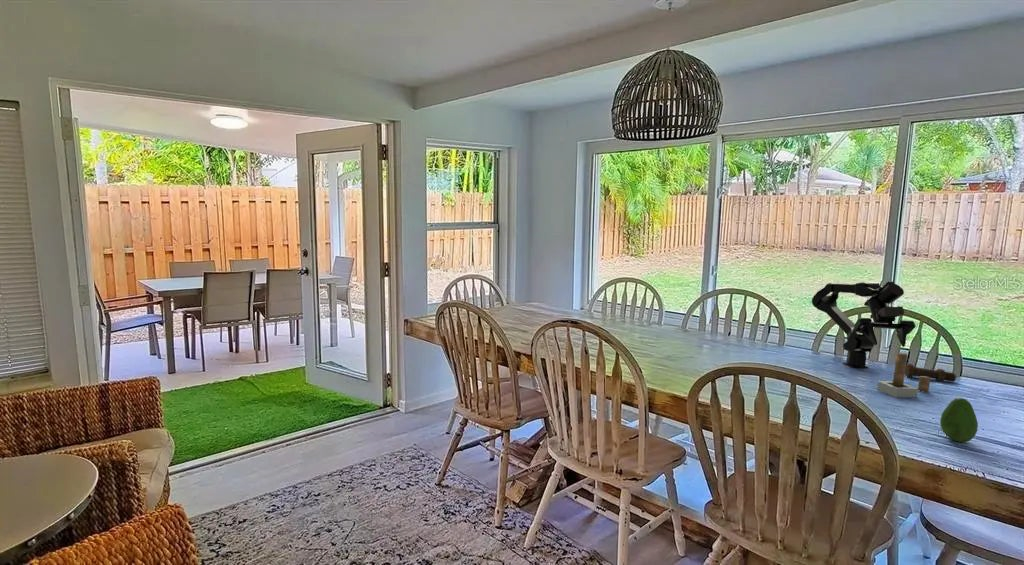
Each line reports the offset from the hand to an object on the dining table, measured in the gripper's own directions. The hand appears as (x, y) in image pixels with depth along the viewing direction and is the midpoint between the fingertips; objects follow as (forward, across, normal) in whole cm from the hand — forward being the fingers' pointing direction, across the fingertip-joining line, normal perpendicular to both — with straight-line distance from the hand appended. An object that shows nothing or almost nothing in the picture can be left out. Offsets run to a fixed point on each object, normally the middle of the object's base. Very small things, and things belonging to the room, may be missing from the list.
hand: (890, 345), depth 200 cm
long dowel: (+20, -3, 0) cm, 20 cm away
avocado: (+48, -6, -28) cm, 56 cm away
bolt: (+5, +18, +15) cm, 24 cm away
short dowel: (+16, +8, +4) cm, 18 cm away
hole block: (+20, -3, 0) cm, 20 cm away
